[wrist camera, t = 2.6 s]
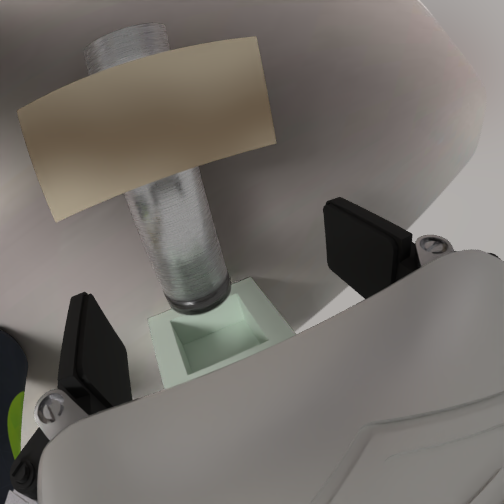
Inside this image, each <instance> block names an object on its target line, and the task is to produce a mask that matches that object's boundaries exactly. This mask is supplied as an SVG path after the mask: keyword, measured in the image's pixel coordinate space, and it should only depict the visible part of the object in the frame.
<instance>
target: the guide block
mask: <svg viewBox="0 0 504 504" xmlns="http://www.w3.org/2000/svg"><path fill="white" fill-rule="evenodd" d="M17 114H18V118H19V122H20V125H21V129H22V133H23V136H24V139H25V143H26V146H27V149H28V152H29V155H30V158H31V161H32V164H33V167H34V170H35V172H36V175H37V178H38V181H39V183H40V186H41V188H42V191H43V194H44V196H45V198H46V201H47V203H48V206H49V208H50V210H51V213H52V215H53V217H54V220H55V222H56V223H57V222H59V221H61V220H63V219H65V218H67V217H69V216H71V215H74V214H76V213H78V212H80V211H83V210H85V209H87V208H89V207H92V206H94V205H96V204H99V203H101V202H103V201H106V200H108V199H111V198H113V197H115V196H118V195H120V194H123V193H125V192H128V191H130V190H133V189H136V188H138V187H141V186H143V185H146V184H149V183H151V182H154V181H157V180H160V179H162V178H165V177H168V176H171V175H174V174H176V173H179V172H182V171H185V170H188V169H191V168H194V167H197V166H200V165H203V164H207V163H210V162H213V161H216V160H219V159H223V158H226V157H229V156H233V155H236V154H240V153H243V152H247V151H250V150H254V149H258V148H261V147H265V146H269V145H273V144H277V143H276V137H275V132H274V126H273V120H272V115H271V109H270V103H269V98H268V93H267V87H266V82H265V77H264V72H263V67H262V62H261V57H260V52H259V47H258V42H257V38H256V36H254V37H244V38H236V39H228V40H221V41H215V42H209V43H203V44H198V45H192V46H187V47H183V48H178V49H174V50H170V51H165V52H161V53H157V54H154V55H150V56H146V57H143V58H139V59H136V60H133V61H129V62H126V63H123V64H120V65H117V66H114V67H111V68H108V69H106V70H103V71H100V72H98V73H95V74H92V75H90V76H87V77H85V78H82V79H80V80H77V81H75V82H73V83H70V84H68V85H66V86H64V87H61V88H59V89H57V90H55V91H53V92H51V93H49V94H47V95H45V96H43V97H41V98H39V99H37V100H35V101H33V102H31V103H29V104H27V105H26V106H24V107H22V108H20V109H18V110H17Z"/></svg>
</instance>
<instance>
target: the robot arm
mask: <svg viewBox="0 0 504 504" xmlns="http://www.w3.org/2000/svg"><path fill="white" fill-rule="evenodd" d="M323 213H324V224H325V236H326V249H327V263H328V266H329V268H330V269H331V270H332V271H333V272H334V273H335V274H336V275H338V276H339V277H340V278H341V279H342V280H344V281H345V282H346V283H347V284H348V285H349V286H351V287H352V288H353V289H354V290H355V291H357V292H358V293H359V294H360V295H361V296H363V297H364V298H365V300H363V301H361V302H359V303H357V304H356V305H354V306H352V307H350V308H348V309H346V310H345V311H342V312H340V313H339V314H337V315H335V316H333V317H331V318H329V319H327V320H325V321H323V322H321V323H319V324H317V325H315V326H313V327H311V328H309V329H307V330H305V331H303V332H301V333H299V334H297V335H294V336H292V337H290V338H288V339H286V340H284V341H282V342H280V343H277V344H275V345H273V346H271V347H269V348H266V349H264V350H262V351H260V352H257V353H255V354H253V355H251V356H248V357H246V358H244V359H241V360H239V361H237V362H234V363H232V364H229V365H227V366H225V367H222V368H220V369H217V370H215V371H212V372H210V373H207V374H205V375H202V376H200V377H197V378H194V379H192V380H189V381H186V382H184V383H181V384H178V385H176V386H173V387H170V388H167V389H164V390H162V391H159V392H156V393H153V394H150V395H147V396H144V397H141V398H138V399H135V400H132V394H131V387H130V378H129V370H128V360H127V352H126V349H125V346H124V344H123V343H122V341H121V340H120V338H119V337H118V335H117V334H116V332H115V331H114V329H113V328H112V326H111V324H110V323H109V321H108V320H107V318H106V316H105V315H104V313H103V312H102V310H101V308H100V307H99V305H98V303H97V301H96V300H95V298H94V296H93V295H92V294H87V293H86V292H83V293H80V294H78V295H75V296H73V297H71V300H70V305H69V310H68V315H67V320H66V325H65V331H64V337H63V343H62V349H61V356H60V364H59V372H58V387H57V389H54V390H50V391H48V392H46V393H45V394H44V395H42V396H41V398H40V399H39V400H38V402H37V404H36V406H35V410H34V418H35V421H36V423H37V425H38V426H39V428H38V429H37V431H36V432H35V433H34V435H33V436H32V437H31V439H30V440H29V441H28V443H27V444H26V445H25V447H24V448H23V449H22V451H21V452H20V453H19V455H18V456H17V458H16V459H15V460H14V462H13V464H12V466H11V469H10V480H11V484H12V486H13V488H14V491H13V492H12V491H10V490H9V493H8V496H7V499H6V502H5V504H504V261H502V260H501V259H500V258H498V256H496V255H495V254H492V253H486V252H483V251H481V250H463V251H454V250H453V247H452V245H451V244H450V242H449V241H448V240H446V239H445V238H443V237H440V236H436V235H424V236H421V237H419V238H418V239H417V241H416V243H415V244H414V243H413V242H412V233H410V232H408V231H406V230H404V229H402V228H401V227H399V226H397V225H395V224H393V223H391V222H389V221H387V220H385V219H384V218H382V217H380V216H378V215H376V214H374V213H372V212H370V211H368V210H366V209H364V208H362V207H360V206H358V205H356V204H354V203H352V202H350V201H348V200H346V199H344V198H341V197H338V198H335V199H332V200H329V201H327V202H326V206H324V208H323Z"/></svg>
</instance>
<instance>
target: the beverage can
mask: <svg viewBox="0 0 504 504" xmlns="http://www.w3.org/2000/svg"><path fill="white" fill-rule="evenodd" d="M27 370H28V362H27V358H26V356H25V354H24V352H23V350H22V349H21V347H20V346H19V344H18V343H17V342H16V341H15V339H13V338H12V337H11V336H10V335H9V334H7V333H6V332H4V331H2V330H0V504H5V502H6V499H7V496H8V493H9V490H10V491H12V492H13V491H14V488H13V486H12V484H11V480H10V469H11V466H12V464H13V462H14V460H15V459H16V458H17V456H18V455H19V453H20V452H21V425H22V411H23V401H24V392H25V384H26V377H27Z"/></svg>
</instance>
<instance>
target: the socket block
mask: <svg viewBox="0 0 504 504" xmlns="http://www.w3.org/2000/svg"><path fill="white" fill-rule="evenodd" d="M148 323H149V328H150V333H151V337H152V342H153V346H154V350H155V354H156V358H157V362H158V366H159V370H160V374H161V378H162V382H163V385H164V389H167V388H170V387H173V386H176V385H178V384H181V383H184V382H186V381H189V380H192V379H194V378H197V377H200V376H202V375H205V374H207V373H210V372H212V371H215V370H217V369H220V368H222V367H225V366H227V365H229V364H232V363H234V362H237V361H239V360H241V359H244V358H246V357H248V356H251V355H253V354H255V353H257V352H260V351H262V350H264V349H266V348H269V347H271V346H273V345H275V344H277V343H280V342H282V341H284V340H286V339H288V338H290V337H292V336H294V335H297V334H296V333H295V332H294V331H293V330H292V328H291V327H290V326H289V325H288V323H287V322H286V321H285V320H284V318H283V317H282V316H281V315H280V313H279V312H278V311H277V309H276V308H275V307H274V306H273V304H272V303H271V302H270V301H269V299H268V298H267V297H266V296H265V294H264V293H263V292H262V291H261V289H260V288H259V287H258V286H257V284H256V283H255V282H254V280H253V279H252V278H251V277H249V278H247V279H244V280H242V281H239V282H237V283H235V284H232V285H231V292H230V295H229V297H228V298H227V300H226V301H225V302H224V303H223V304H222V305H220V306H219V307H218V308H216V309H214V310H212V311H210V312H208V313H205V314H201V315H195V316H187V315H182V314H179V313H177V312H175V311H174V310H173V309H171V310H168V311H166V312H163V313H161V314H158V315H156V316H153V317H151V318H148Z"/></svg>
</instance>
